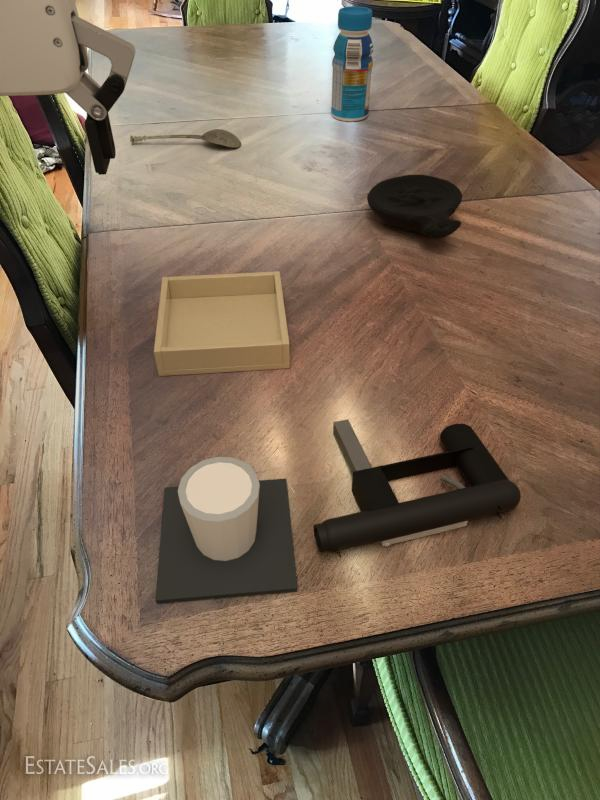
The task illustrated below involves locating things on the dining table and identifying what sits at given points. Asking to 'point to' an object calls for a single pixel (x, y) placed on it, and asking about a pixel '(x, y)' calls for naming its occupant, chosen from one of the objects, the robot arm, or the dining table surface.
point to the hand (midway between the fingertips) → (40, 169)
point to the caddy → (221, 324)
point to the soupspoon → (201, 137)
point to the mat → (247, 575)
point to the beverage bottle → (352, 64)
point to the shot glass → (221, 506)
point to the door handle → (422, 515)
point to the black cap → (417, 204)
